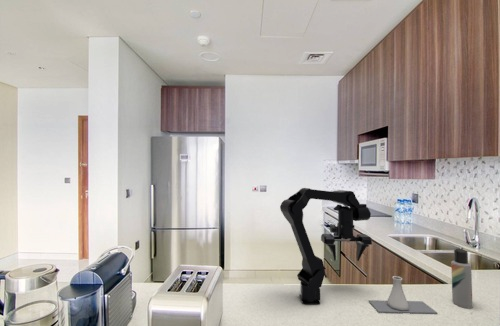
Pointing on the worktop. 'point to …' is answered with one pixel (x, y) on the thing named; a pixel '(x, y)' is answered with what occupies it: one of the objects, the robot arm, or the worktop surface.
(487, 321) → the worktop surface
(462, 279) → the lotion bottle
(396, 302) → the flask
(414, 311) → the charcoal mat
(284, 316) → the worktop surface
